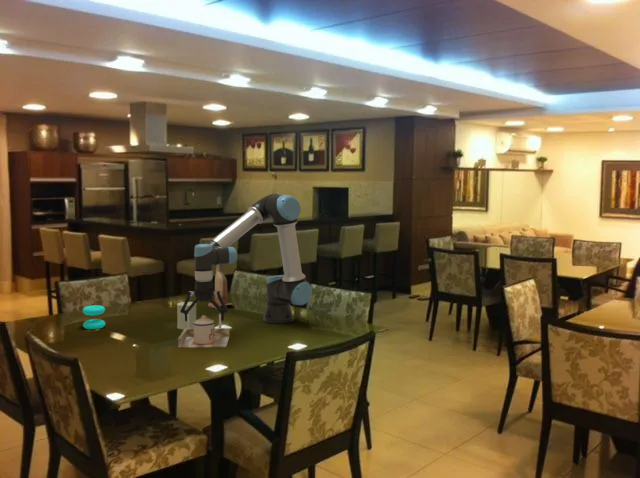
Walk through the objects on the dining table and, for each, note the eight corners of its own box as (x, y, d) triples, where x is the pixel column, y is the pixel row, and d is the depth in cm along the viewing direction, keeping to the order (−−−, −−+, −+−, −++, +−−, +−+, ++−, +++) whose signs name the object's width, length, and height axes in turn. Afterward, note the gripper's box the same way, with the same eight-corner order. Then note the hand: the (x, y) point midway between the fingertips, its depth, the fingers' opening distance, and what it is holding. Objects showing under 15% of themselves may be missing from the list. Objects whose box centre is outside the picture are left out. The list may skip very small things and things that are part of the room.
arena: (229, 337, 274) (229, 328, 273) (226, 347, 257) (225, 337, 256) (184, 337, 272) (184, 328, 272) (178, 347, 256) (178, 338, 255)
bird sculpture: (224, 304, 347) (222, 249, 345) (235, 307, 339) (234, 250, 336) (207, 307, 340) (205, 251, 337) (218, 310, 331) (216, 252, 329)
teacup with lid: (213, 344, 258) (213, 317, 257) (191, 344, 257) (191, 317, 256) (216, 337, 270) (216, 311, 269) (196, 337, 269) (195, 312, 268)
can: (192, 330, 286) (191, 305, 285) (173, 328, 288) (173, 304, 287) (199, 325, 295) (199, 301, 294) (182, 324, 297) (181, 300, 296)
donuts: (78, 306, 289) (98, 303, 296) (79, 327, 290) (99, 324, 297) (88, 310, 282) (108, 306, 289) (89, 331, 283) (109, 327, 290)
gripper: (233, 278, 266) (234, 325, 268) (176, 278, 264) (177, 326, 266) (232, 281, 258) (232, 330, 260) (173, 281, 257) (174, 330, 259)
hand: (204, 328), depth 263 cm, fingers open, 13 cm apart
